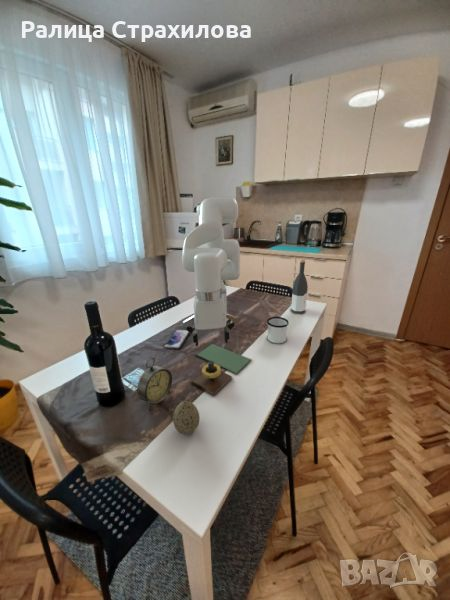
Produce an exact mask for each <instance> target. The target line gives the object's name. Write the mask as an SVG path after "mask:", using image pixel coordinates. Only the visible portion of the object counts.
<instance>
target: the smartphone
mask: <svg viewBox="0 0 450 600" xmlns="http://www.w3.org/2000/svg"><path fill="white" fill-rule="evenodd" d="M189 333H190V332H188V331H187V329H186V330H185V329H176V330H175V331H174V332H173V334H172V335H171V336H170V338H169V339H168V340H167V342H166V343H165V344H164V348H165V349H180V348H181V346H182V345H183V343H184V341H185V340H186V339H187V337H188V335H189Z"/></svg>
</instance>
